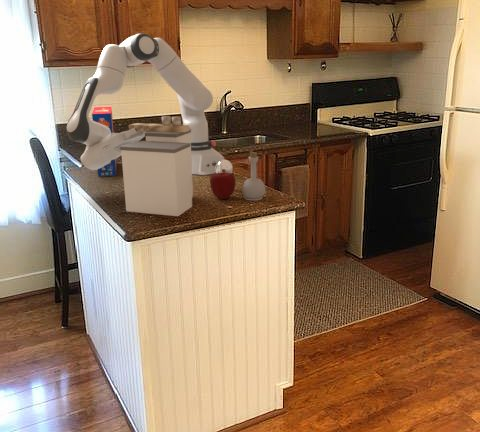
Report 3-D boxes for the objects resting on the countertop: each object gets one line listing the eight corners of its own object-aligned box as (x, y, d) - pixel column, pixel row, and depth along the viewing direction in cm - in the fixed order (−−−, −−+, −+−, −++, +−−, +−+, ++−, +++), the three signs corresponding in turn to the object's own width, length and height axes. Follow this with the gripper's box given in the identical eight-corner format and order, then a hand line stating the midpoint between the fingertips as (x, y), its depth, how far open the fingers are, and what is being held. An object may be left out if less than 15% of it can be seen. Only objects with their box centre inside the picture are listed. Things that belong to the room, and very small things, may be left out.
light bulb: (235, 187, 214) (234, 158, 210) (229, 191, 208) (229, 161, 204) (219, 186, 216) (218, 157, 212) (213, 190, 210) (212, 160, 206)
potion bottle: (241, 195, 202) (240, 149, 196) (263, 194, 202) (263, 148, 197) (243, 201, 193) (242, 153, 188) (266, 201, 194) (266, 153, 189)
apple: (210, 194, 203) (209, 169, 200) (235, 194, 204) (234, 169, 201) (210, 201, 194) (209, 175, 191) (236, 201, 195) (235, 174, 192)
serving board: (129, 130, 192) (128, 116, 190) (136, 128, 197) (135, 114, 195) (183, 132, 185) (183, 118, 183) (190, 130, 190) (189, 116, 188)
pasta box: (116, 175, 237) (110, 113, 228) (98, 176, 235) (91, 113, 227) (116, 163, 263) (111, 106, 255) (100, 163, 261) (94, 107, 253)
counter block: (125, 211, 184) (119, 137, 176) (157, 193, 206) (153, 127, 198) (178, 216, 178) (174, 140, 170) (205, 197, 200) (203, 129, 192)
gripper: (95, 142, 189) (122, 124, 183) (125, 133, 207) (150, 116, 201) (104, 157, 190) (131, 139, 184) (133, 147, 208) (159, 131, 202)
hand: (142, 127), depth 193 cm, fingers open, 8 cm apart
